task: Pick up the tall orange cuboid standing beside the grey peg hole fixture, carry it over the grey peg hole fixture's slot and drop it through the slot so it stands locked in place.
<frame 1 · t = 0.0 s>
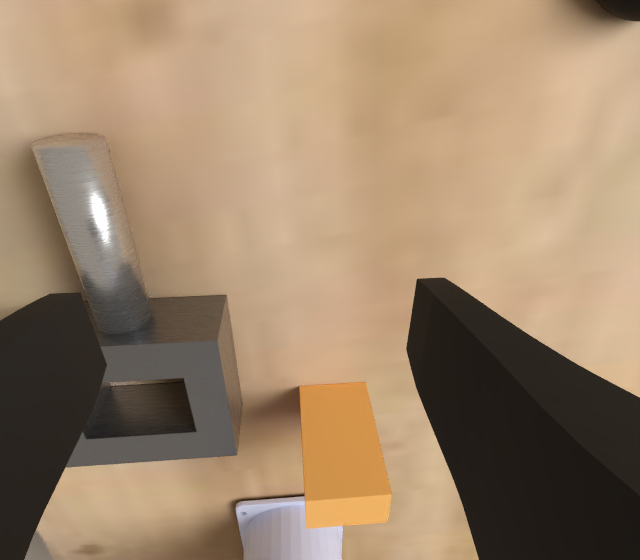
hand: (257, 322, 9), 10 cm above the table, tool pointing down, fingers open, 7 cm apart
tall orange cuboid: (332, 397, 25), on the table
grey peg hole fixture: (152, 359, 22), on the table
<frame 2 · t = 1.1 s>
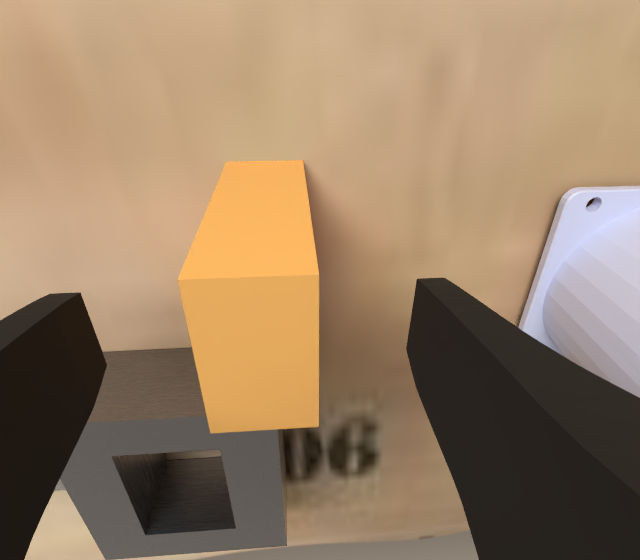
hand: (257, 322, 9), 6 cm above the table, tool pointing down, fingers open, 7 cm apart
tall orange cuboid: (268, 219, 14), on the table
grey peg hole fixture: (195, 422, 19), on the table
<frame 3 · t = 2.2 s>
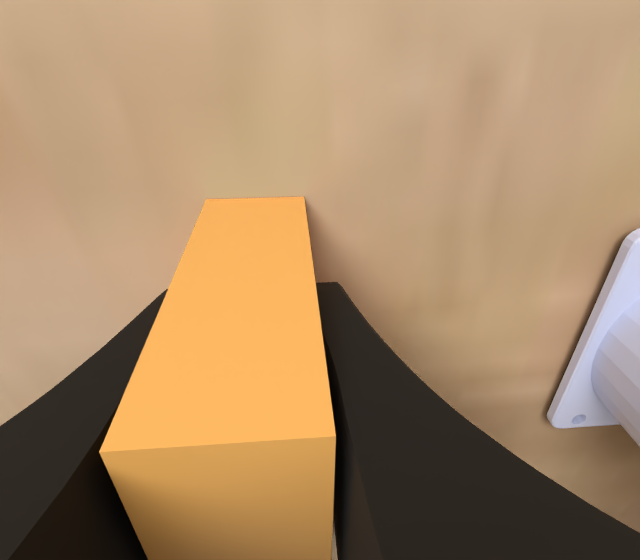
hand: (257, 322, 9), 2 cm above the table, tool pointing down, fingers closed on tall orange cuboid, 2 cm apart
tall orange cuboid: (261, 267, 11), on the table, touching gripper
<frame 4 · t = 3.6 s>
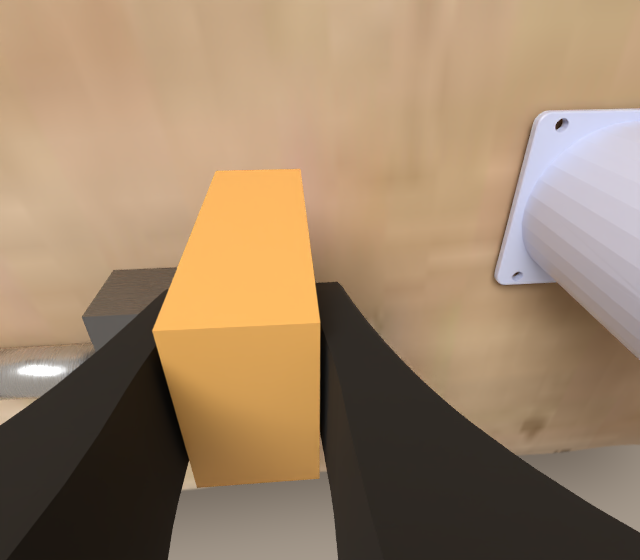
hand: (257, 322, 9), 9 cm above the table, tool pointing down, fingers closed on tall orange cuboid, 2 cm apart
tall orange cuboid: (263, 232, 13), point 5 cm above the table, touching gripper
grey peg hole fixture: (216, 341, 21), on the table
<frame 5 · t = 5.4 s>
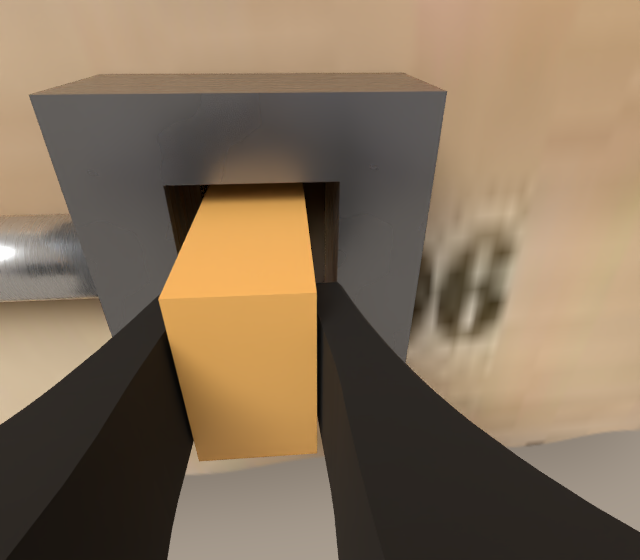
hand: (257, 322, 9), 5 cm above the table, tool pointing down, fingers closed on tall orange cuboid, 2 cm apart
tall orange cuboid: (264, 225, 13), resting in grey peg hole fixture, touching gripper
grey peg hole fixture: (266, 228, 13), on the table
when the fingers open (4 cm above the table, at t = 5.9 s): tall orange cuboid stays where it is, resting in grey peg hole fixture.
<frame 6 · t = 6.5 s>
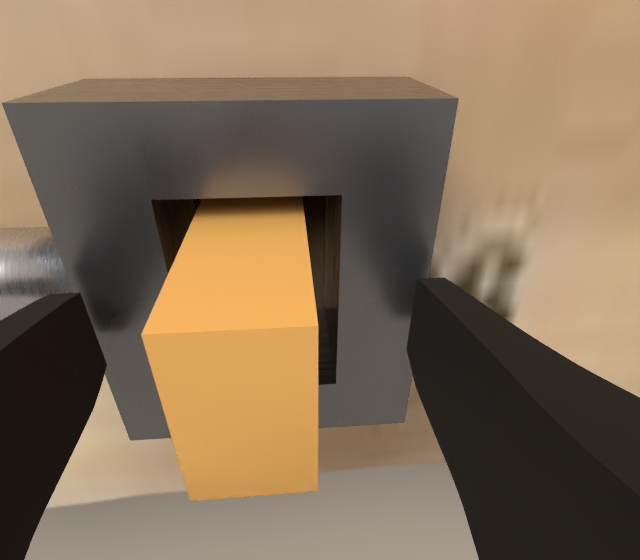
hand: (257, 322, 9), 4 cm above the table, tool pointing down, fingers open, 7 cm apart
tall orange cuboid: (261, 236, 13), resting in grey peg hole fixture
grey peg hole fixture: (263, 240, 13), on the table
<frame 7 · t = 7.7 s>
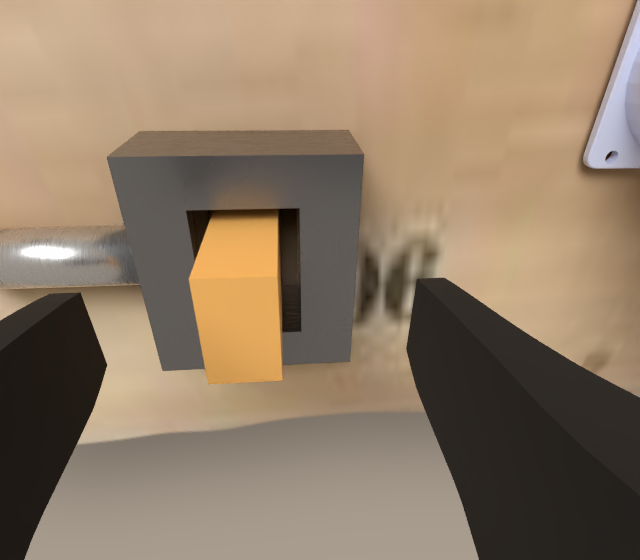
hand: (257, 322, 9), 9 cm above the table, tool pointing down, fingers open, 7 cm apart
tall orange cuboid: (252, 233, 18), resting in grey peg hole fixture
grey peg hole fixture: (254, 236, 18), on the table
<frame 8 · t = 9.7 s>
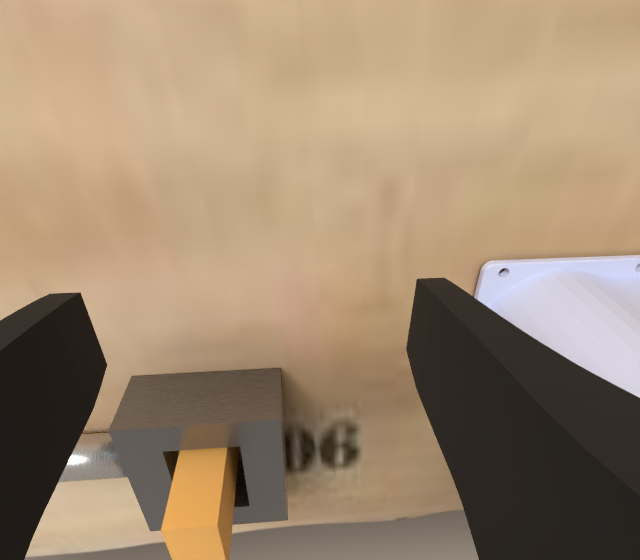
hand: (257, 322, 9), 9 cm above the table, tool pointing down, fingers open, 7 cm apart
tall orange cuboid: (216, 424, 25), resting in grey peg hole fixture
grey peg hole fixture: (217, 426, 25), on the table
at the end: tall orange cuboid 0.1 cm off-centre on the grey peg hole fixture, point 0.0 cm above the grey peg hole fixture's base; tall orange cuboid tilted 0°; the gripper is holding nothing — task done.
